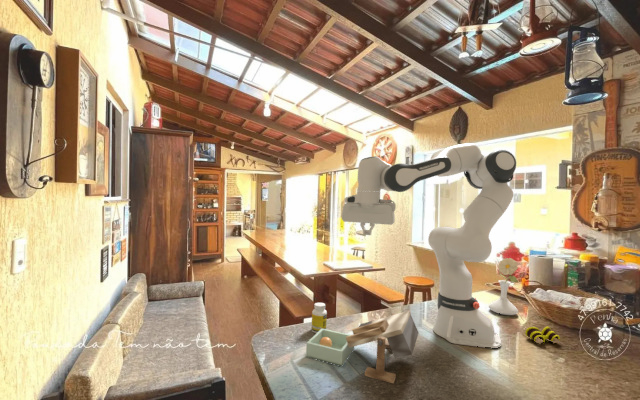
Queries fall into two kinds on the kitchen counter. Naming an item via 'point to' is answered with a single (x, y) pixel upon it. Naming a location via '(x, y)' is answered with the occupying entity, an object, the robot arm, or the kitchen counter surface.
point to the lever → (388, 333)
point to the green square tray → (329, 354)
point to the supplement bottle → (319, 317)
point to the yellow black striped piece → (541, 333)
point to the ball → (325, 342)
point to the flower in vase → (505, 288)
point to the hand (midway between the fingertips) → (367, 234)
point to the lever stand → (381, 362)
